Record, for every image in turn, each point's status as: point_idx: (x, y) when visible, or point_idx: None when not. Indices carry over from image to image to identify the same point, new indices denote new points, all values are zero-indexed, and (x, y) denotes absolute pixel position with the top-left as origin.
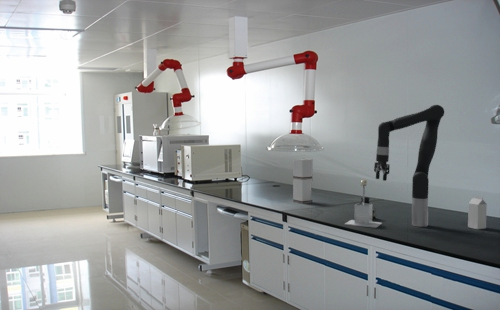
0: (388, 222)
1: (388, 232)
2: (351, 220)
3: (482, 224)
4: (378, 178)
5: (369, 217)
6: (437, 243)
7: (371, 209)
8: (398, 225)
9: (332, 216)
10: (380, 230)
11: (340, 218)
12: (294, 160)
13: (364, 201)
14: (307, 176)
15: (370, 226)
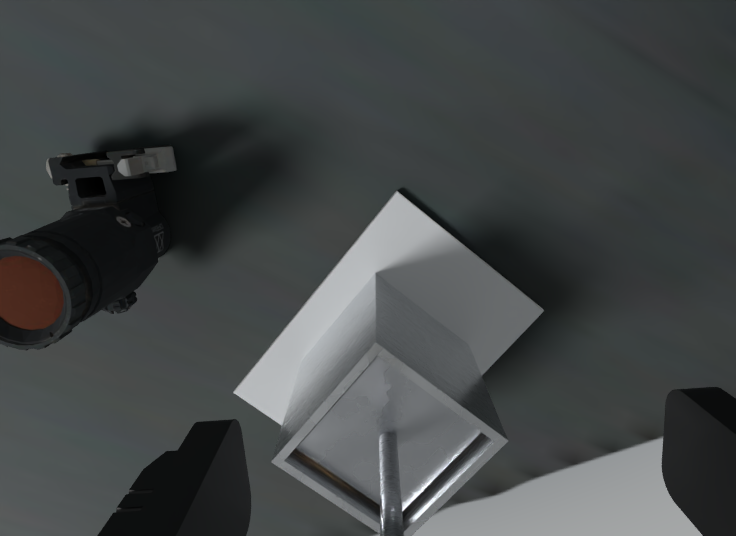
0: (359, 103)
1: (720, 293)
2: (260, 398)
3: None
4: (240, 451)
5: (461, 359)
6: None
7: (409, 344)
8: (507, 75)
9: (42, 457)
10: (636, 320)
11: (130, 429)
12: None
13: (86, 312)
14: None
15: (508, 346)
